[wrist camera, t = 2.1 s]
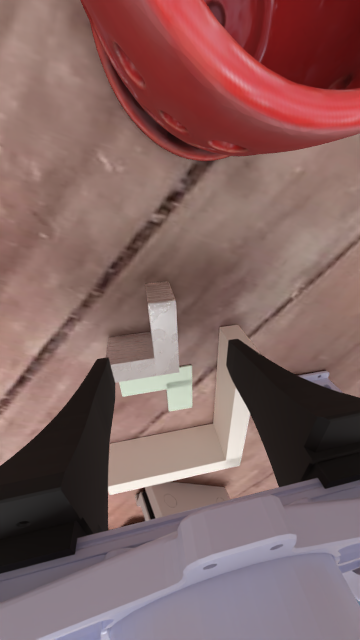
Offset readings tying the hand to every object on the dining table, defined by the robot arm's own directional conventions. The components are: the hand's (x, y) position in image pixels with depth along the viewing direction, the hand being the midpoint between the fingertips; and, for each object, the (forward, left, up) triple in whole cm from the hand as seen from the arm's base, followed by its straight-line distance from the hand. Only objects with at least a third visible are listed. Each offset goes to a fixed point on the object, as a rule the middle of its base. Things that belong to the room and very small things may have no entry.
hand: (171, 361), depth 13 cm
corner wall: (0, +13, -8) cm, 15 cm away
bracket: (+2, +2, -8) cm, 8 cm away
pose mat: (+1, +11, -8) cm, 14 cm away
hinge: (-2, +37, -9) cm, 38 cm away
